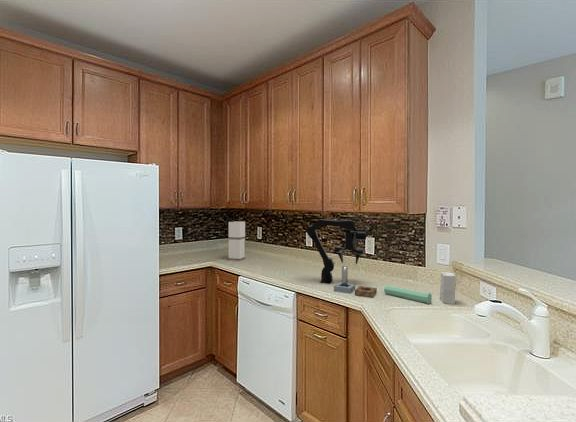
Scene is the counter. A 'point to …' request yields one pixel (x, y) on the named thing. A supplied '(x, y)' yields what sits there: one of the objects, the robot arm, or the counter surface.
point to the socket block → (344, 288)
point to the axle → (345, 276)
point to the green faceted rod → (408, 294)
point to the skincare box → (447, 287)
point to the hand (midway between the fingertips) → (349, 263)
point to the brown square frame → (365, 291)
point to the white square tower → (236, 241)
